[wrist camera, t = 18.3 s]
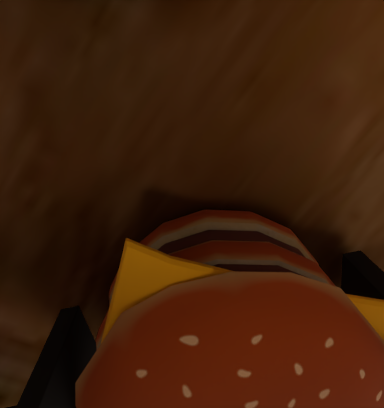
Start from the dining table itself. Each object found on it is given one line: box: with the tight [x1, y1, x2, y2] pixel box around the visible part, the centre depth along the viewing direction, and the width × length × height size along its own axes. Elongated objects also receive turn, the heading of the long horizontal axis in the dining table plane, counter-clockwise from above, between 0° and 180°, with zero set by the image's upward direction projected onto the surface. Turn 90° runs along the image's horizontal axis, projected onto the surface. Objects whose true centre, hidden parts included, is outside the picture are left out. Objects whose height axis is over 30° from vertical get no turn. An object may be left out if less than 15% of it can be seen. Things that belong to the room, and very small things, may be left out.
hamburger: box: [75, 210, 384, 408], centre depth 10 cm, size 9×10×7 cm
